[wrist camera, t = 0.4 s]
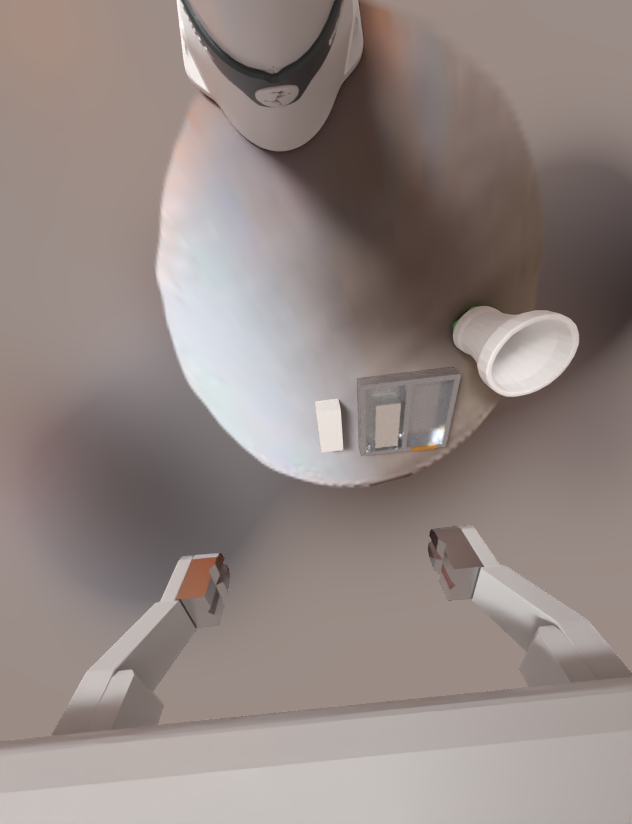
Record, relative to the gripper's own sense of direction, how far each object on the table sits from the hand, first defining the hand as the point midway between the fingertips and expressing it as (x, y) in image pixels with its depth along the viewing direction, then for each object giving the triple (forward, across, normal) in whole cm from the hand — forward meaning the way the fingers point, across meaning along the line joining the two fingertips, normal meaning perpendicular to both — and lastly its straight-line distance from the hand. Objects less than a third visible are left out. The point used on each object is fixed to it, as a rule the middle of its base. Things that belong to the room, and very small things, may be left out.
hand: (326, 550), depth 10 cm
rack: (+41, -17, +17) cm, 48 cm away
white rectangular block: (+42, -2, +17) cm, 45 cm away
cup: (+40, -28, +1) cm, 49 cm away
